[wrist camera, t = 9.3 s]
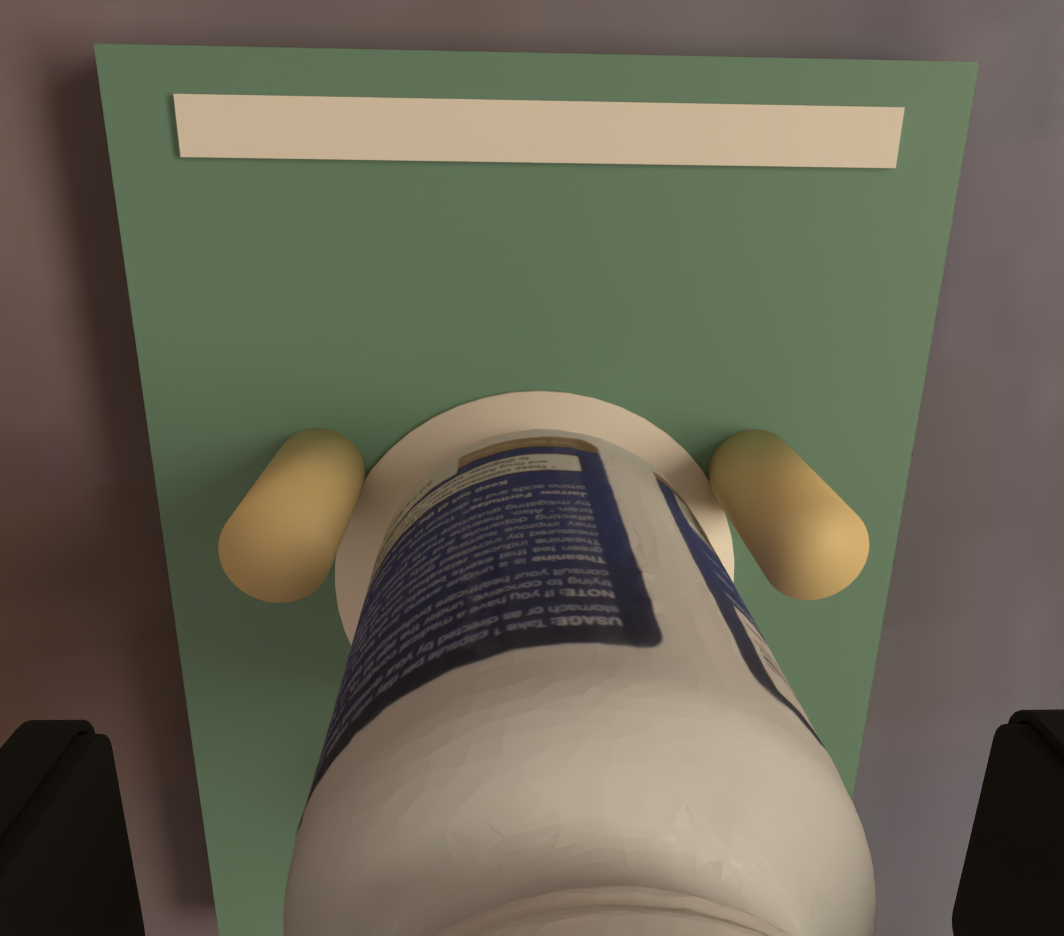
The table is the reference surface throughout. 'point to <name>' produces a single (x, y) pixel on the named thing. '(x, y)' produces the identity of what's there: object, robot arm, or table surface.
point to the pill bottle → (567, 726)
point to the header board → (513, 344)
